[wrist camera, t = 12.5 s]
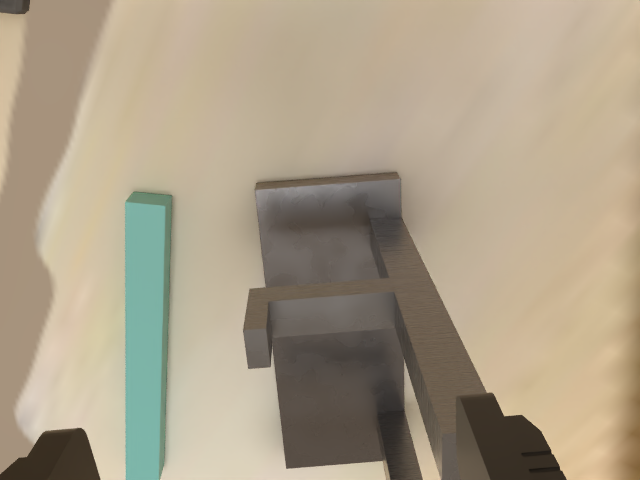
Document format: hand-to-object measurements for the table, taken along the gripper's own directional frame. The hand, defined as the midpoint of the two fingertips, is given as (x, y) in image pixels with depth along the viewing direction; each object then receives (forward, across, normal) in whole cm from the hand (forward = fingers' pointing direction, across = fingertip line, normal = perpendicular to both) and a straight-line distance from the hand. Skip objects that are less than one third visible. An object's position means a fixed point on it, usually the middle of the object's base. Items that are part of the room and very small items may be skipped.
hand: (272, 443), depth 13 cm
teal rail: (+27, +12, +12) cm, 32 cm away
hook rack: (+27, -1, +13) cm, 29 cm away
